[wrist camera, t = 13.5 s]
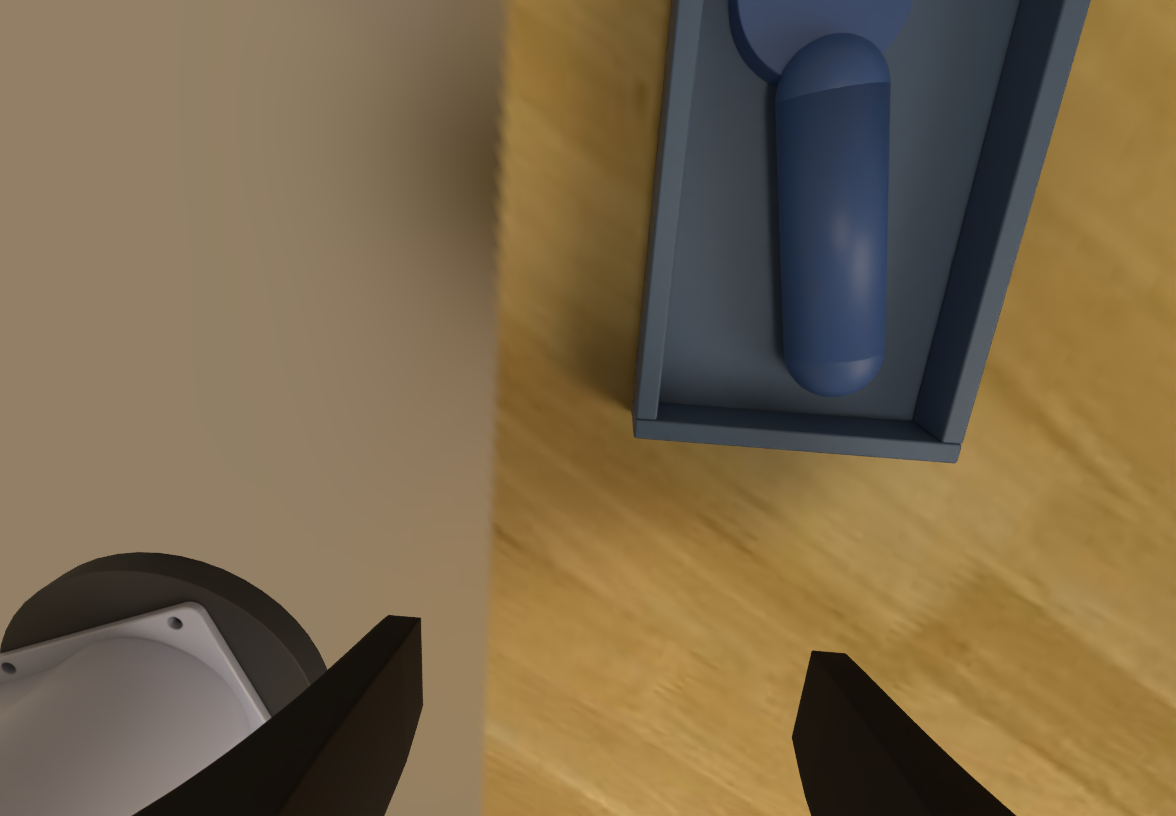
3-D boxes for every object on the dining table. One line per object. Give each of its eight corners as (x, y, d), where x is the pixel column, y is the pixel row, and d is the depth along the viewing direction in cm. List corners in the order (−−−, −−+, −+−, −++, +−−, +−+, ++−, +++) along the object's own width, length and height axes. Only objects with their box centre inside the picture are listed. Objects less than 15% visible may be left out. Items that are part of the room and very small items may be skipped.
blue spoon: (889, 373, 18) (933, 399, 16) (748, 390, 18) (769, 418, 16) (900, -117, 14) (960, -184, 12) (723, -85, 15) (745, -144, 12)
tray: (918, 435, 19) (957, 464, 17) (631, 412, 19) (633, 439, 17) (1073, -157, 14) (1156, -223, 12) (689, -182, 14) (702, -251, 12)
